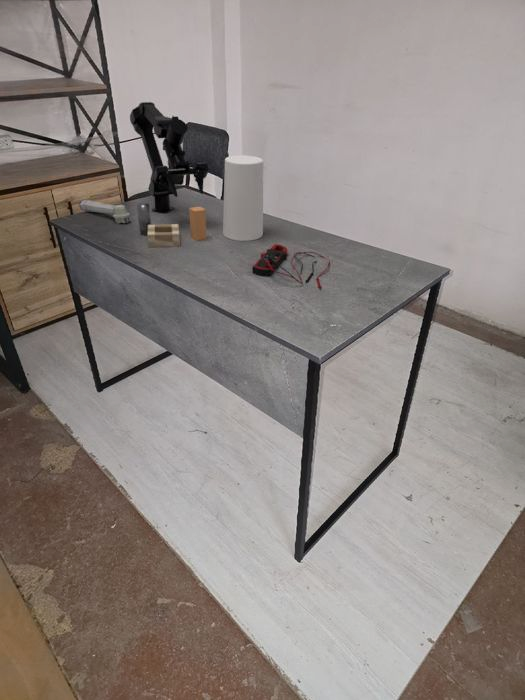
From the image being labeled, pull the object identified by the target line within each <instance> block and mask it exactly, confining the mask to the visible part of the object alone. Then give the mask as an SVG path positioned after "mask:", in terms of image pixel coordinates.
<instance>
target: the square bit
mask: <svg viewBox="0 0 525 700" xmlns="http://www.w3.org/2000/svg"><path fill="white" fill-rule="evenodd" d="M188 210H189V227H190V238H191V239H193V240H194V241H202V240H207V217H206V212H207V211H206V209H205V208H204V207H202V206H194V207H189V209H188Z"/></svg>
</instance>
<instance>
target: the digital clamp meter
mask: <svg viewBox="0 0 525 700" xmlns="http://www.w3.org/2000/svg"><path fill="white" fill-rule="evenodd" d="M310 253H311V254H314V255H317V256H319V257H322V258H324V259H325V258H326V257H325V256H324V255H322V254H319V253H317V252H314V251H302V252H301V251H300V252H299V251H298V252H294V254H293V257H292V259H291V261H290V263H291V267H292V268H293V269H294V270H295V271H296V273H297V275H298V276H299V279H300V281H299V279H297V278H295V276H293V274H291V273H290V272H289V271H287V270H286V269H285V268H284V267H282V266H280V265H281V264H282V262H283V261H287V256H288V255H287V254H288V248H287V247H286V246H285V245H282V244H273V245H272V246H271V247H270V248H268V249H266V252H263V253H260V258H259V259H258V260H257V261H256V263H254V265H252V274H253V275H256V276H259V277H271V276H272V275H273V274H274V272H275V273H277V274H281V275H284V276H287V277H289V278H291V279H294V280H295V281H297V282H298V283H299V284H302V283H303V279H302V277H301V275H302V270H303V266H304V265H303V262H302V261H301V260H300V259H299V258H298V257H296V256H298V255H302V254H304V255H307V256H310V257H312V258H314V259H316V256H314V255H311V254H310ZM294 258H295V259H296V260H298V262H299V263H300V264H301V267H300V273H299V271H298V270H297V269H296V267H295V266H294V265H293V260H294ZM317 262H318V261H317V260H316V261H313V262H312V264H311V265H312V266H311V268H312V270H311V273H310V275H309V276H308V277H307V279H306V280H305V284H308V283H309V282H310V280H311V279H312V277H313V276H314V264H315V263H317ZM330 264H331V262H330V260H328V264H327V267H326V268H325V269H324V270H323V272H321V273H320V274H319V275H318V276H317V277H316V279H315V281H316V283H317V288H318V289H319V291H320V292H322V288H323V287H322V285H321V282H320V279H319V277H320V276H321V275H322V274H324V272H326V271H327V270H328V269H329V266H330ZM278 267H279V268H281V269H282V270H284V271H285V272H286V273H287V274H286V273H284V272H280V271H277V270H276V269H278Z"/></svg>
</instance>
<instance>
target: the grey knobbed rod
mask: <svg viewBox="0 0 525 700" xmlns="http://www.w3.org/2000/svg"><path fill="white" fill-rule="evenodd" d="M78 207H79V209H80V210H81V211H85V212H87V213H91V212H93V213H100V214H101V213H102V214H109V215H112V217H113V219H114V220H115V223H116V224H121V223H122V224H126V223H129V222H130V221H131V219H130V213H129V212H128V211H127V208H126V206H125V205H124V204H117V205H114V204H109V203H104V202H98V201H94V200H93V201H92V200H91V199H85V200H84V199H83V200H80V202H79V204H78ZM89 211H90V212H89Z"/></svg>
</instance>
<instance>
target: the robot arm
mask: <svg viewBox="0 0 525 700" xmlns="http://www.w3.org/2000/svg"><path fill="white" fill-rule="evenodd" d="M129 121H130V125H132V128H133V130H134V131H135V133H136V134H137V135H139V137H141V140H142V143H143V147H144V149H145V153H146V156H147V159H148V162H149V166H150V169H151V175H150V179H149V180H150V181H149V185H148V188H147V189H148V193H149V195H150V196H152V197H154V199H153V200H154V208H152V209H151V211H152V212H158V213H164V214H167V213H169V212H170V211H172V210H174V209H175V208H174V206H171V201H170V195H173V196H174V197H175V198H177V197H178V192H177V188H176V186H182V185H183V184H184V179H185V176H189V175H193V177H194V181H195V182H196V184H197V187H198V191H199V193H200V194H201V195H203V193H204V179H206V178H207V175H208V173H209V171H210V165H209V164H208V163H207V162H196V164H195V166H194V167H189V166H190V163H189V161H187V159H186V156H185V155H186V151H185V150H183V147H182V144H184V140H185V139H186V135H187V133H188V125H187V124H186V123H185V122H184V121H183V120H181V119H179V116H172V117H168V116H165V115H163V113H161V111H160V110H159V109H158V108H157V107H156V105H155V103H154V102H152V101H149V102H147V101H144V102H141V103H139V104H138V106H136V107H135V108H133V109H132V110H131V113H130V115H129ZM155 136H156V137H157V139H163V141H162V151H164V152H165V155H166V158H167V165H168V166H167V165H164V163H163V159H162V157H161V154H160V150H159V147H158V144H157V140H156V138H155Z"/></svg>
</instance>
